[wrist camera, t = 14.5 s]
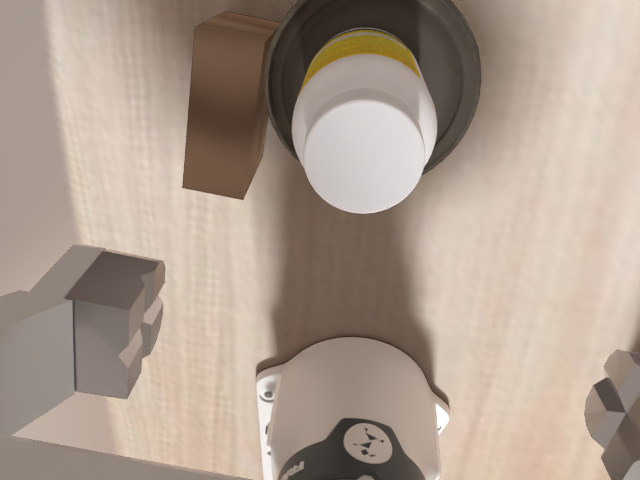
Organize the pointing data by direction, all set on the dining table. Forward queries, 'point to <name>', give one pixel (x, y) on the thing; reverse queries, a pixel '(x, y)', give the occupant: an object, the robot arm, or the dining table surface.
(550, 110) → the dining table surface
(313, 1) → the coffee can
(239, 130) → the brown rectangular block
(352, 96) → the supplement bottle
